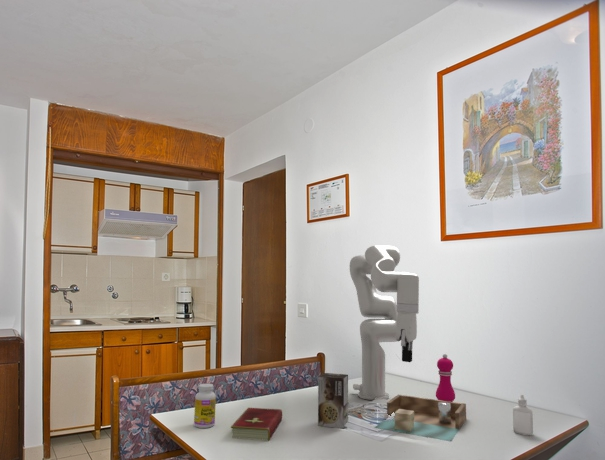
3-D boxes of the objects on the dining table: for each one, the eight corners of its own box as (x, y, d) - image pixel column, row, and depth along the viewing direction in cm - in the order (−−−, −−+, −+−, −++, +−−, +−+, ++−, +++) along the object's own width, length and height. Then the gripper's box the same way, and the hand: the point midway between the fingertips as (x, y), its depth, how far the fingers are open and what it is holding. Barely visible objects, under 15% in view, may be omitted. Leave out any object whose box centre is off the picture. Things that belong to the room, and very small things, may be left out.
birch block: (394, 428, 150) (394, 412, 151) (399, 424, 155) (398, 408, 155) (410, 431, 148) (410, 414, 149) (414, 426, 153) (414, 410, 153)
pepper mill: (453, 405, 183) (452, 352, 185) (457, 410, 176) (456, 355, 178) (434, 404, 184) (433, 352, 186) (437, 409, 177) (437, 355, 179)
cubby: (374, 430, 151) (374, 411, 152) (398, 411, 174) (398, 394, 174) (451, 444, 140) (450, 423, 140) (466, 421, 162) (465, 403, 163)
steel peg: (439, 423, 157) (438, 404, 157) (438, 420, 160) (437, 401, 161) (451, 423, 156) (451, 404, 157) (450, 420, 160) (449, 402, 160)
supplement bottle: (198, 430, 149) (199, 388, 150) (191, 424, 155) (192, 384, 156) (218, 426, 153) (219, 386, 154) (210, 421, 158) (211, 382, 159)
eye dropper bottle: (525, 436, 148) (524, 397, 149) (511, 431, 153) (510, 393, 154) (535, 435, 149) (534, 396, 151) (521, 429, 155) (519, 392, 156)
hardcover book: (282, 421, 161) (282, 408, 161) (269, 442, 140) (269, 428, 141) (248, 419, 163) (248, 406, 163) (230, 440, 142) (230, 425, 142)
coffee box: (348, 423, 158) (349, 374, 160) (344, 429, 152) (344, 378, 154) (322, 420, 161) (323, 372, 163) (317, 426, 155) (317, 375, 157)
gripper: (403, 306, 174) (403, 356, 173) (390, 309, 161) (389, 363, 160) (423, 307, 171) (423, 359, 169) (412, 311, 158) (411, 366, 156)
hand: (407, 361), depth 165 cm, fingers closed
